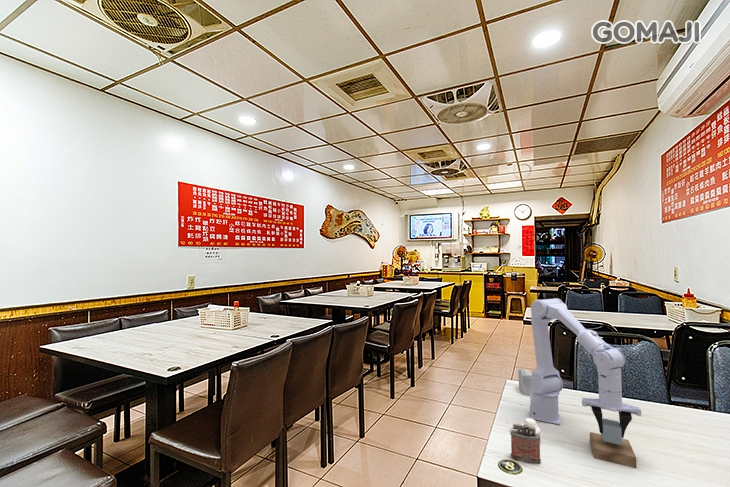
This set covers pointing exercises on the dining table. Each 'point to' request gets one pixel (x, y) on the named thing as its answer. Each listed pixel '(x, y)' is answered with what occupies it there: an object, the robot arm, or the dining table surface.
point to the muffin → (532, 425)
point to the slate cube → (611, 431)
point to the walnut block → (612, 451)
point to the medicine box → (525, 381)
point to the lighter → (525, 444)
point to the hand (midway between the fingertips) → (611, 434)
